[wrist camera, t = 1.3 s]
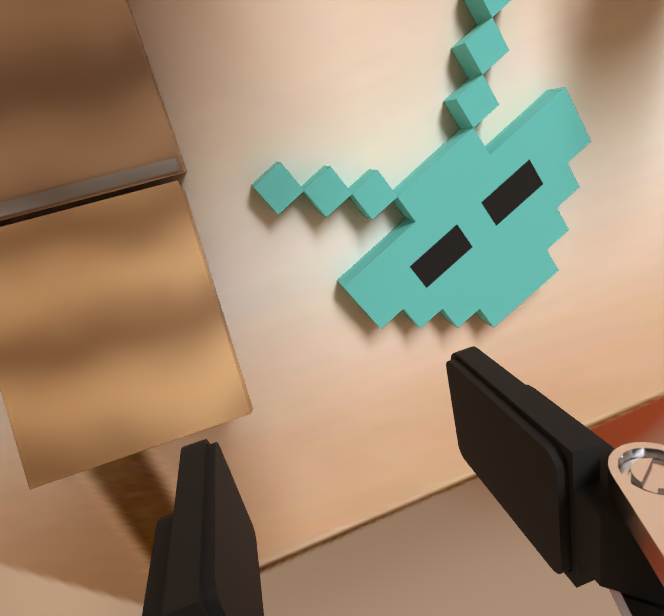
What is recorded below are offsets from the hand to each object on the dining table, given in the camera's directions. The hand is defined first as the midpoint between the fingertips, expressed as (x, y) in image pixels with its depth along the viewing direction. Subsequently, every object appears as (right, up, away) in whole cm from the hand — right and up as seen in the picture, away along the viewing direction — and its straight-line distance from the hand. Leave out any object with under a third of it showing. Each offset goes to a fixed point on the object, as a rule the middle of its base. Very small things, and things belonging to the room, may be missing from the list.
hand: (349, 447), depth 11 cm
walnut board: (-17, +15, +14) cm, 27 cm away
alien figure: (+8, +11, +22) cm, 26 cm away
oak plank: (-13, +2, +16) cm, 21 cm away
